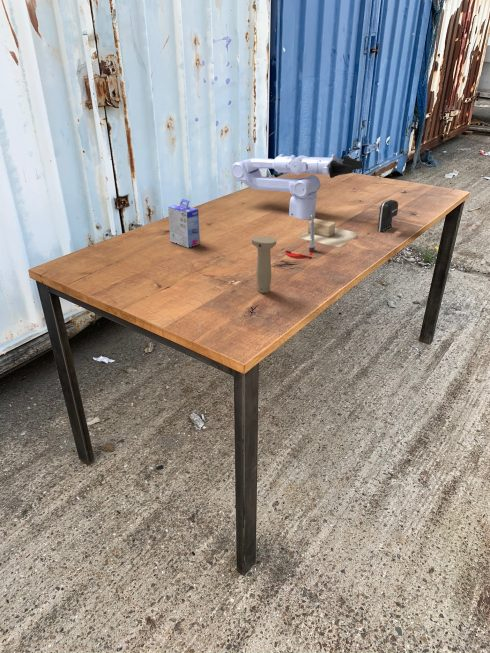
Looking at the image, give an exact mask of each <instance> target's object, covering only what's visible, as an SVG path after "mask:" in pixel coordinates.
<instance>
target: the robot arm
mask: <svg viewBox="0 0 490 653" xmlns="http://www.w3.org/2000/svg"><path fill="white" fill-rule="evenodd" d="M231 166H232V167H231V173H232V175H233V177H234V178H235V180H236V181H238V182H241V183H244V185H246V186H248V187H249V188H250V189H253V190H257V191H271V192H283V193H290V195H292V196H291V197H290V200H289V205H288V206H289V210H288V215H289V217H292V218H295V219H299V220H308V221H310V220H311V215H314V219H316V211H317V210H316V209H317V208H316V207H317V195H318V192H319V190H320V188H321V180H320V179H319V177H318V176H316V175H325V176H326V175H327V176H329V178H330V179H333V178H335V177H338V176H342V175H349V174H352V173H353V170H354V171H355V170H361V169H363V161H361V160H358V159H354V158H352V157H350V156H349V155H346V154H345V155H343V156H342V159H341V158H338V157H337V154H336V153H333V154H331V157H323V156H321V157H320V156H319V157H318V156H307V155H303V154H301V155H298V156H296V155H294V154H292V155H290V156H289V155H288V156H287V155H285V154H284V153H283V154H282V153H281V154H279V155H277V156H276V157H275V158H274V159H273V158H263V157H251V158H247V159H245V160H242V161H236V162H234V163H233V164H232V165H231ZM260 169H273V170H274V171H275V172H276V173H290V174H291V173H292V174H294V175H295V176H299V175H300V174H309V175H308V176H307V177H306V176H304V177H296V178H294V177H293V178H292V177H291V178H290V177H278V176H277V177H276V176H263V175H262V173H261V171H260Z"/></svg>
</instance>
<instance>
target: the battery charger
mask: <svg viewBox="0 0 490 653" xmlns="http://www.w3.org/2000/svg"><path fill="white" fill-rule="evenodd" d="M398 210H399V202H398V201H397V200H394V199H387V200H384V201H383V202H382V203H381V204H380V207H379V213H378V221H377V222H378V223H377V224H378V226H377V232H379V233H382V234H384V233H386V232H388V231H390V230H391V229H393V226H392V224H393V222H392V221H393V218H394V217H395V216H398Z"/></svg>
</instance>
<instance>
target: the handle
mask: <svg viewBox="0 0 490 653" xmlns="http://www.w3.org/2000/svg"><path fill="white" fill-rule="evenodd" d="M251 244H252V245H253V246H255V247H256V249H257V258H256V259H257V262H256V283H257V291H258V292H259V293H261V294H268V293H269V292H270V290H271V282H272V262H271V260H272V258H271V249H272V248H274V247H275V246H276V245H277V239H276V238H275V237H272V236H266V235H255V236H254V237H252V238H251Z"/></svg>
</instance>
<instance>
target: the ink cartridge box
mask: <svg viewBox="0 0 490 653" xmlns="http://www.w3.org/2000/svg"><path fill="white" fill-rule="evenodd" d="M184 203H185V204H184ZM189 204H190V200H188V199H184V198H182V199H181V201H180V203H179V204H174V205H171V206H168V207H167V210H168V211H167V212H168V224H169V226H168V227H169V240H170V241H169V242H171V243H174V244H176V243H177V245H179V246H182V247H186V248H187V249H189V247H190V248H192V246H193V247H195V245H196V246H199V245H200V244H201V239H200V236H201V235H200V221H199V218H200V217H199V216H200V215H199V209H198V208H196V207H193V206H192V207H191V206H189ZM198 244H199V245H198Z"/></svg>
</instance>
